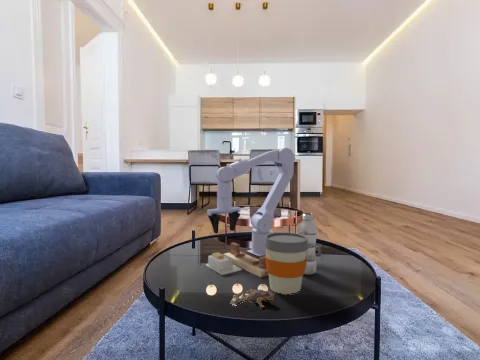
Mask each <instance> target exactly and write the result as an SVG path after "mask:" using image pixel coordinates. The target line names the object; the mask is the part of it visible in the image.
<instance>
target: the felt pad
mask: <svg viewBox="0 0 480 360" xmlns="http://www.w3.org/2000/svg"><path fill="white" fill-rule="evenodd" d="M205 266H206V268H207V267H208V268H209V269H210V270H213V271H214V272H216V273H218V274H220V275H221V276H225V275H228V274H233V273H236V272H237V273H238V272H240V271H243V269H242V268H240V267H238V266H236V265H234V264H233V270H229V271H225V272H221V273H220V272H218V271H216V270H215V269H213V268H211V267H210V266H208V263H205Z"/></svg>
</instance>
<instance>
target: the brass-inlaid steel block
mask: <svg viewBox="0 0 480 360" xmlns="http://www.w3.org/2000/svg"><path fill="white" fill-rule="evenodd" d="M223 254H224V253H220V252H219V251H218V252H213V253H211V255H207V256H208V258H207V264H208V266H210V267H211V268H213V269H215V270H216V271H218V272H220V273H221V272H225V271H229V270H233V265H234V264H233V259H231V258H229V257H227V256H225V255H223ZM211 268H210V269H211ZM216 271H215V272H216ZM218 272H217V273H218Z"/></svg>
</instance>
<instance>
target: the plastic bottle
mask: <svg viewBox="0 0 480 360" xmlns="http://www.w3.org/2000/svg"><path fill="white" fill-rule="evenodd" d="M301 220H302V221H301V222H300V224H299V226H298V227H297V234H300V235H303V236H305V237H307V240H308V250H307V251H306V257H307V261H306V268H305V274H304V275H307V276H308V275H309V276H310V275H314V274H315V273H316V272H317V268H318V266H317V260H316V259H317V258H316V245H317V244H316V243H317V242H316V241H317V237H318V228H317V225H316V224H315V223H314V213H312V212H303V213H302V216H301Z"/></svg>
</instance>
